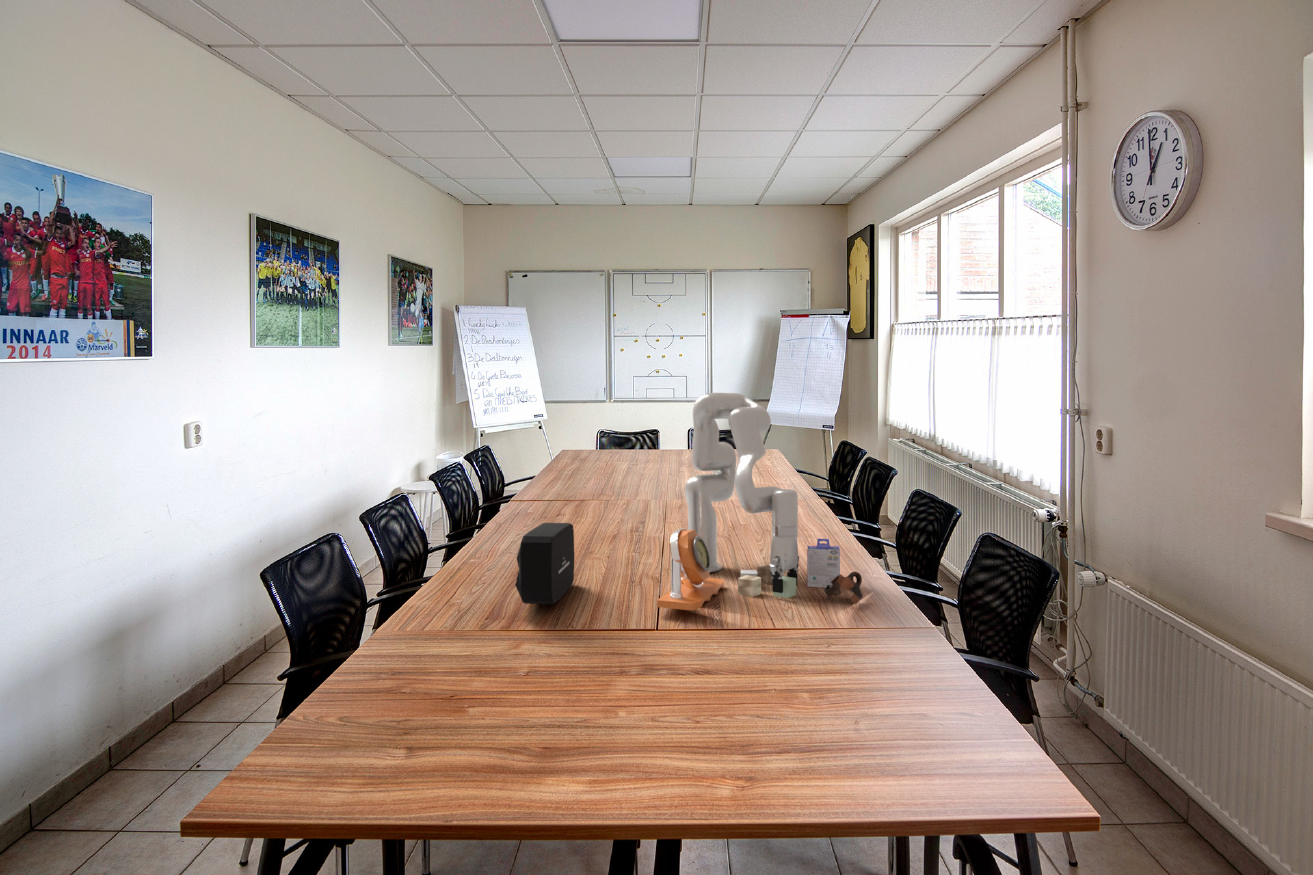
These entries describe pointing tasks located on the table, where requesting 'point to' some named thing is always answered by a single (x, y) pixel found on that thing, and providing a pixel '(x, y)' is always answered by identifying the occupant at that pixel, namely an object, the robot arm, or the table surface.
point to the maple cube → (749, 586)
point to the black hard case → (546, 563)
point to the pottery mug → (845, 586)
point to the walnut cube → (765, 574)
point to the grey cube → (749, 573)
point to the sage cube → (787, 587)
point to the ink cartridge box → (822, 564)
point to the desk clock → (689, 573)
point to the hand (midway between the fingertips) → (785, 588)
